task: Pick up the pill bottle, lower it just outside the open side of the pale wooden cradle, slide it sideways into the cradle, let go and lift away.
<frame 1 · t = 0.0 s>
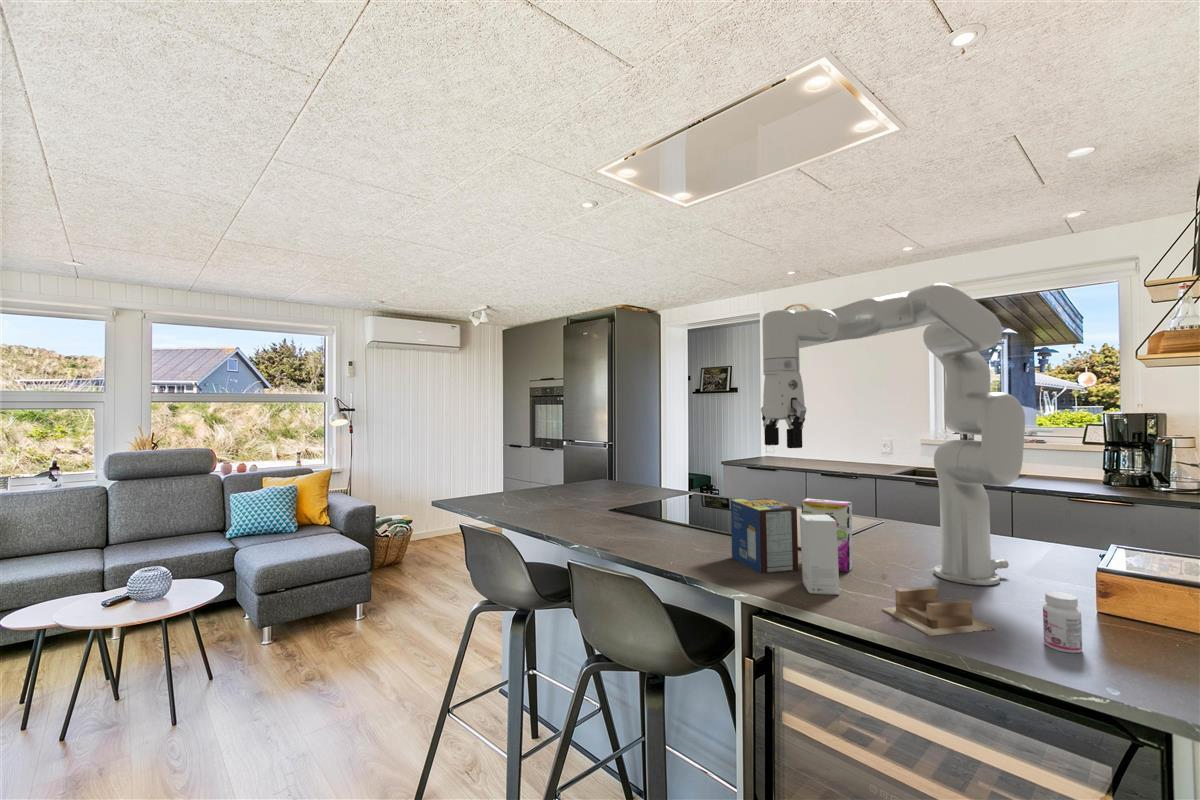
hand: (782, 446, 116), 31 cm above the worktop, tool pointing down, fingers open, 9 cm apart
skincare box: (819, 589, 117), on the worktop
candy bar box: (827, 568, 132), on the worktop
pill bottle: (1062, 648, 87), on the worktop
cradle: (935, 619, 99), on the worktop
protein box: (763, 564, 136), on the worktop
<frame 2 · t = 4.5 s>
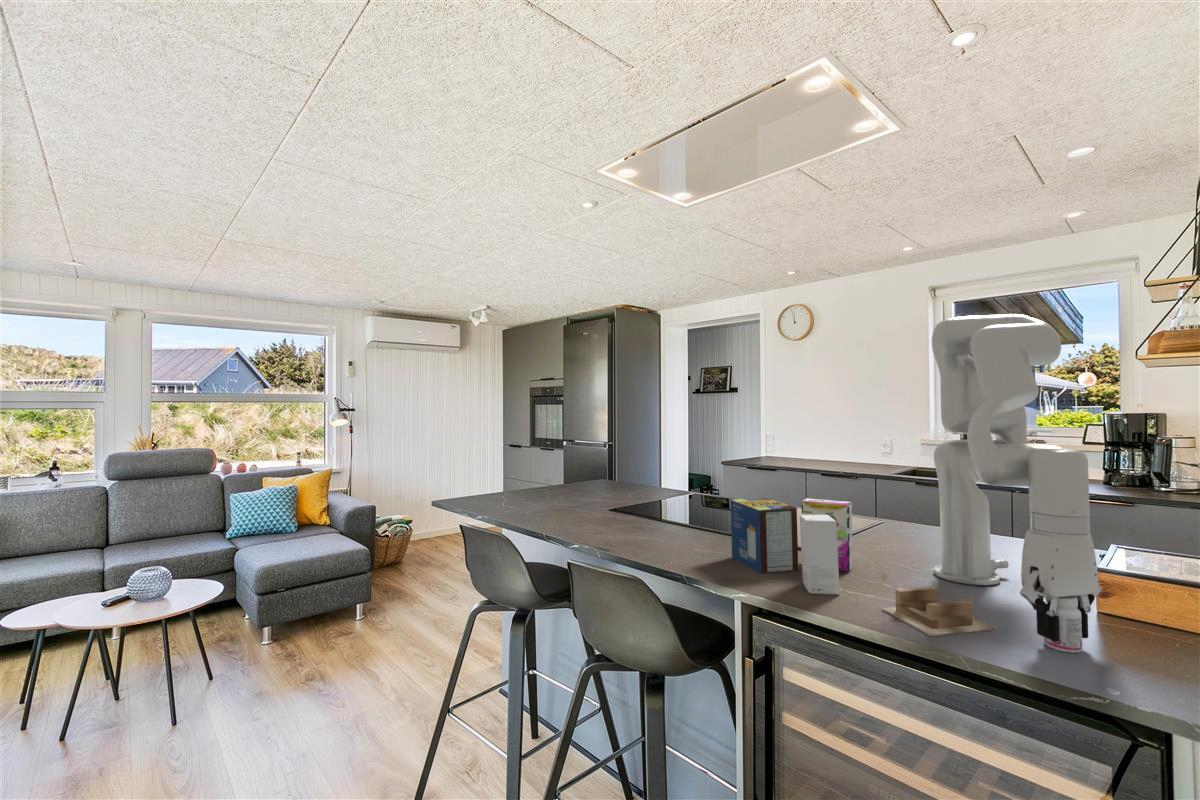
hand: (1062, 635, 87), 2 cm above the worktop, tool pointing down, fingers closed on pill bottle, 4 cm apart
pill bottle: (1062, 648, 87), on the worktop, touching gripper
everything else where it was.
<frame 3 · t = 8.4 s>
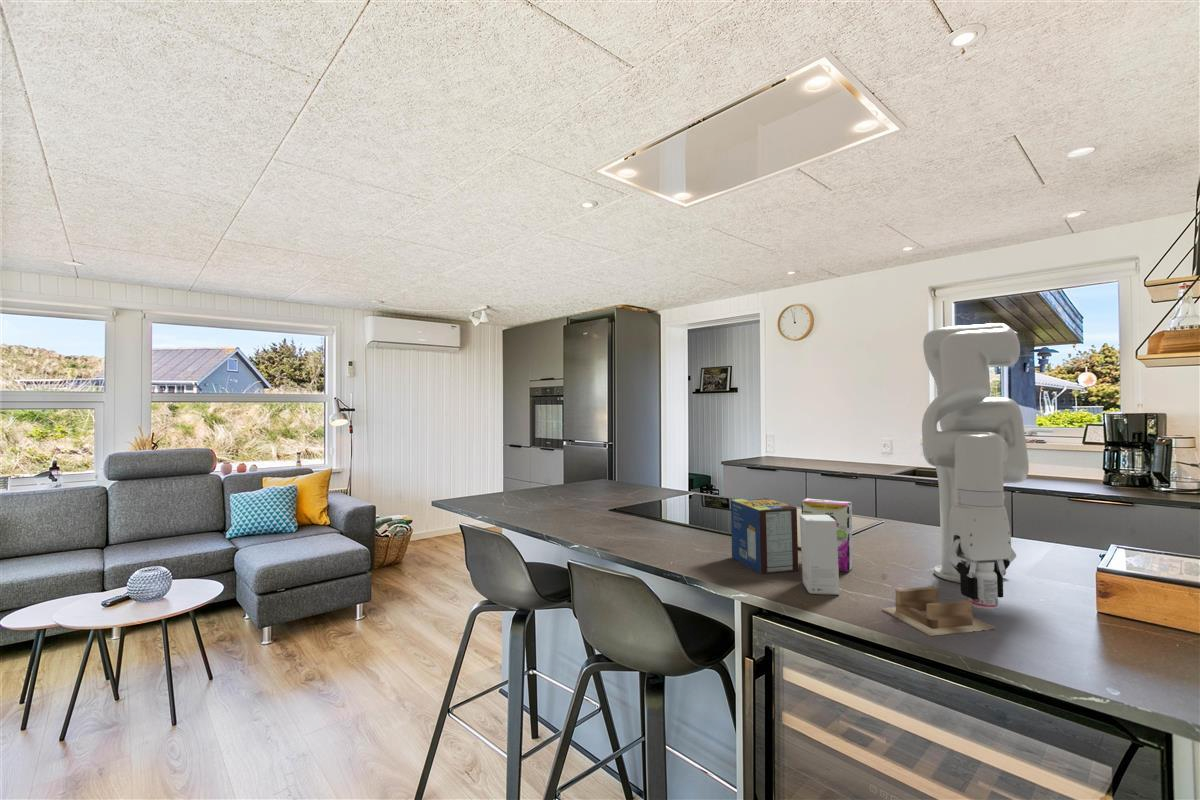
hand: (981, 595, 101), 4 cm above the worktop, tool pointing down, fingers closed on pill bottle, 4 cm apart
pill bottle: (982, 606, 100), point 2 cm above the worktop, touching gripper
everything else where it was.
when the fingers open (3 cm above the worktop, at t = 12.0 s): pill bottle stays where it is, resting on cradle.
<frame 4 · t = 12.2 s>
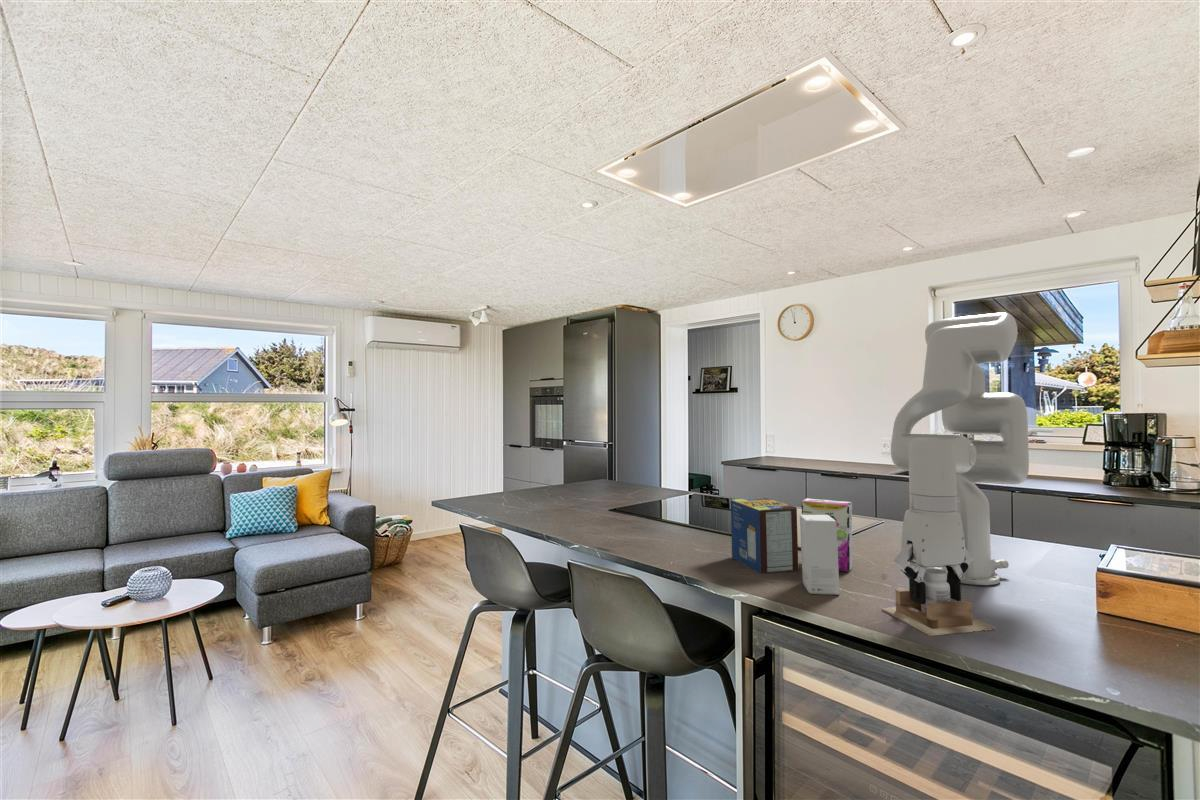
hand: (935, 599, 99), 4 cm above the worktop, tool pointing down, fingers open, 6 cm apart
pill bottle: (936, 617, 99), resting on cradle
everything else where it was.
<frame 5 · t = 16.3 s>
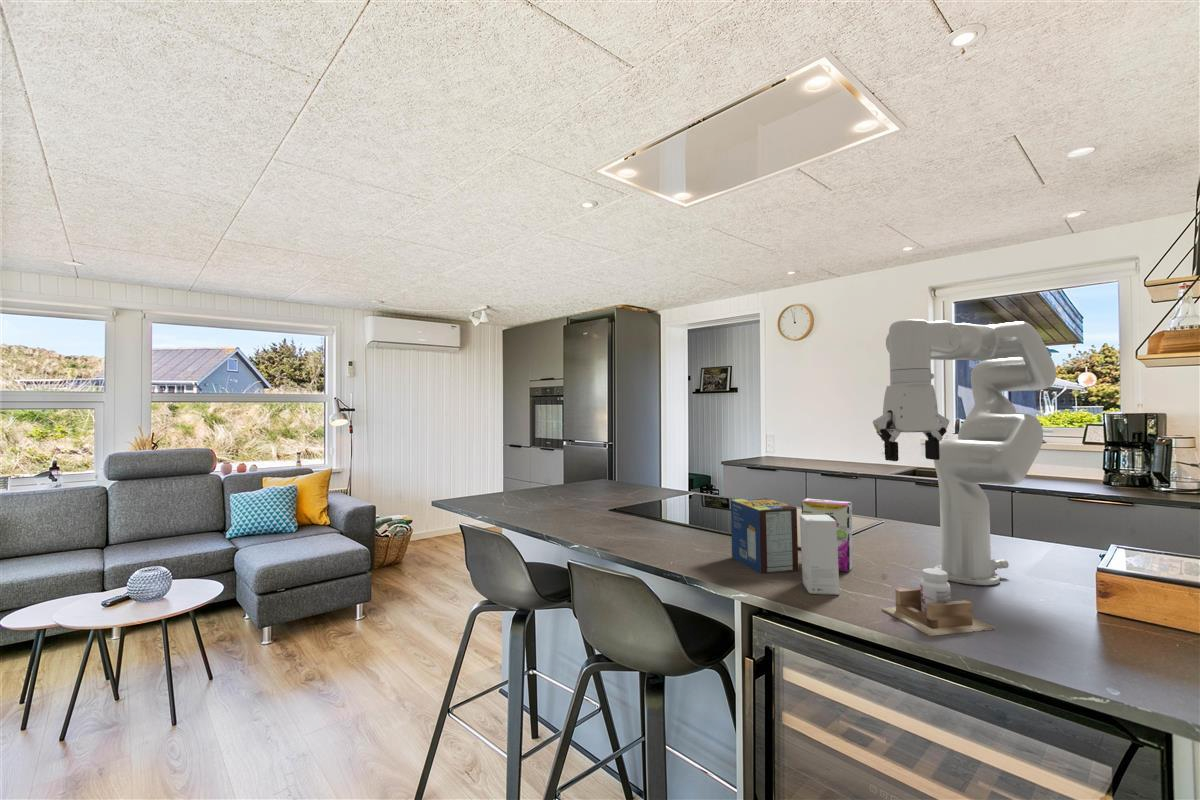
hand: (912, 459, 112), 28 cm above the worktop, tool pointing down, fingers open, 9 cm apart
nothing on the worktop moved.
at the end: pill bottle 0.2 cm off-centre on the cradle, point 0.2 cm above the cradle's base; pill bottle tilted 0°; the gripper is holding nothing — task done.
